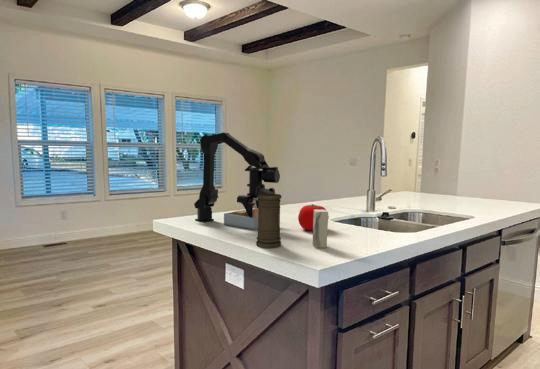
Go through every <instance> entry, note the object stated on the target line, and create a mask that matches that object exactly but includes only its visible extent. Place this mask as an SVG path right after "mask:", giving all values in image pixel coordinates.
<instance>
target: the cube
mask: <svg viewBox="0 0 540 369" xmlns="http://www.w3.org/2000/svg"><path fill="white" fill-rule="evenodd" d="M242 210H243V209H241V210H236V211H233V212H234V215H239V216H245V217H249V216H248V214H247V212H246V211H242Z"/></svg>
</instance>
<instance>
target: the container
mask: <svg viewBox="0 0 540 369" xmlns="http://www.w3.org/2000/svg"><path fill="white" fill-rule="evenodd" d="M257 198H259V199H258V202H259V206H258V229H257V237H256V243H255V244H256V246H257V247H258V248H259V247H260V248H263V249H264V248H265V249H273V248H275V249H276V248H278V247H280V246H282V241H281V240H282V238H281V229H280V226H281V222H280V221H281V199H282V194H279V193H275V194H258V196H257Z"/></svg>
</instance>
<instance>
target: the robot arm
mask: <svg viewBox="0 0 540 369" xmlns="http://www.w3.org/2000/svg"><path fill="white" fill-rule="evenodd" d="M199 139H200V140H199V145H200V149H201V152H202V154H203V168H202V169H203V170H202V171H203V172H202V173H203V176H202V177H203V178H202V187H201V189H200V190H199V196H198V199H197V200H196V201H195V202H194V205H193V206H194V208H195V209H197V211H196V212H197V213H196V214H197V216H196V218H195V219H194V220H195V221H197V222H202V223H206V222H211V221H214V220H215V219H214V218H213V211H212V208H213V207H214V206H215V204H216V202H217V200H218V198H219V189H216V188H215V186H214V185H215V182H214V180H215V154H216V152H217V150H218V146H219V145H221V144H223V143H224V144H225V145H227V146H228V147H230V149H232V150H233V151H234V152H236V153H237V154H239V155H241V156H242V158H243V160H244V161H245V162H246V163H247V164H248V166H247V167H246V168H245V169H244V171H245V172H248V173H249V174H248V175H249V176H248V177H249V180H248V182H249V183H247V184H246V186H247V187H248V192H247V193H246V194H247V195H246V194H241V195H237V197H236V202H237V203H240V204H241V205H242V206H243V207H244V210H246V212H247V214H248V216H249V217H252V213H253V206H254V205H255V203H253V200H256V206H257V208H258V206H259V202H258V200H257V199H259V198H257V196H258V194H276V190H275V188H274V187H269V188H266V185H265V183H270V184H278V183H279V182H280V179H281V174H280V171H279V167H278V166H269V164H268V163H267V161H266V159H265V155H264V154H263V153H262V152H260V151H257V150H254V149H252V148H249V147H248V146H246V145H245V144H244V143H242V142H241V141H239V140H238V139H237V138H235V137H234V136H232V135H231V134H230V133H229V132H225V131H224V132H220V133H215V134H211V135H210V134H204V135H202V136H201V137H200V138H199Z"/></svg>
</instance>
